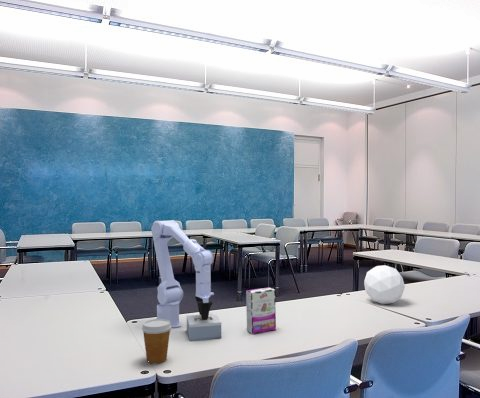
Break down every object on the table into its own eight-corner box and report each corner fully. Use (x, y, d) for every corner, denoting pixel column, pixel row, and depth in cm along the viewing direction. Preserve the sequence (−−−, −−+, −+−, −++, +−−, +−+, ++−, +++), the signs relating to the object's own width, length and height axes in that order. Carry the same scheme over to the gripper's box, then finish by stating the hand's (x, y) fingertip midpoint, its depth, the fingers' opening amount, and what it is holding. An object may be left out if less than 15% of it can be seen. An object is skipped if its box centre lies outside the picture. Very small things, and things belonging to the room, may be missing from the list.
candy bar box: (269, 326, 158) (269, 286, 159) (276, 330, 154) (276, 289, 154) (245, 331, 153) (245, 289, 153) (251, 334, 149) (251, 292, 149)
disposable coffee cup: (144, 354, 129) (144, 319, 129) (172, 353, 130) (172, 318, 130) (139, 366, 120) (139, 327, 120) (170, 365, 121) (170, 326, 121)
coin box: (189, 340, 142) (189, 324, 142) (186, 330, 154) (186, 315, 154) (221, 338, 145) (221, 322, 145) (216, 328, 157) (216, 313, 157)
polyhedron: (391, 314, 198) (415, 284, 198) (383, 309, 183) (409, 275, 182) (361, 291, 210) (384, 262, 210) (351, 284, 194) (375, 253, 194)
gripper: (216, 285, 144) (216, 321, 143) (210, 278, 158) (210, 311, 157) (197, 286, 142) (197, 323, 142) (193, 279, 156) (193, 312, 156)
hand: (203, 317), depth 150 cm, fingers open, 7 cm apart
